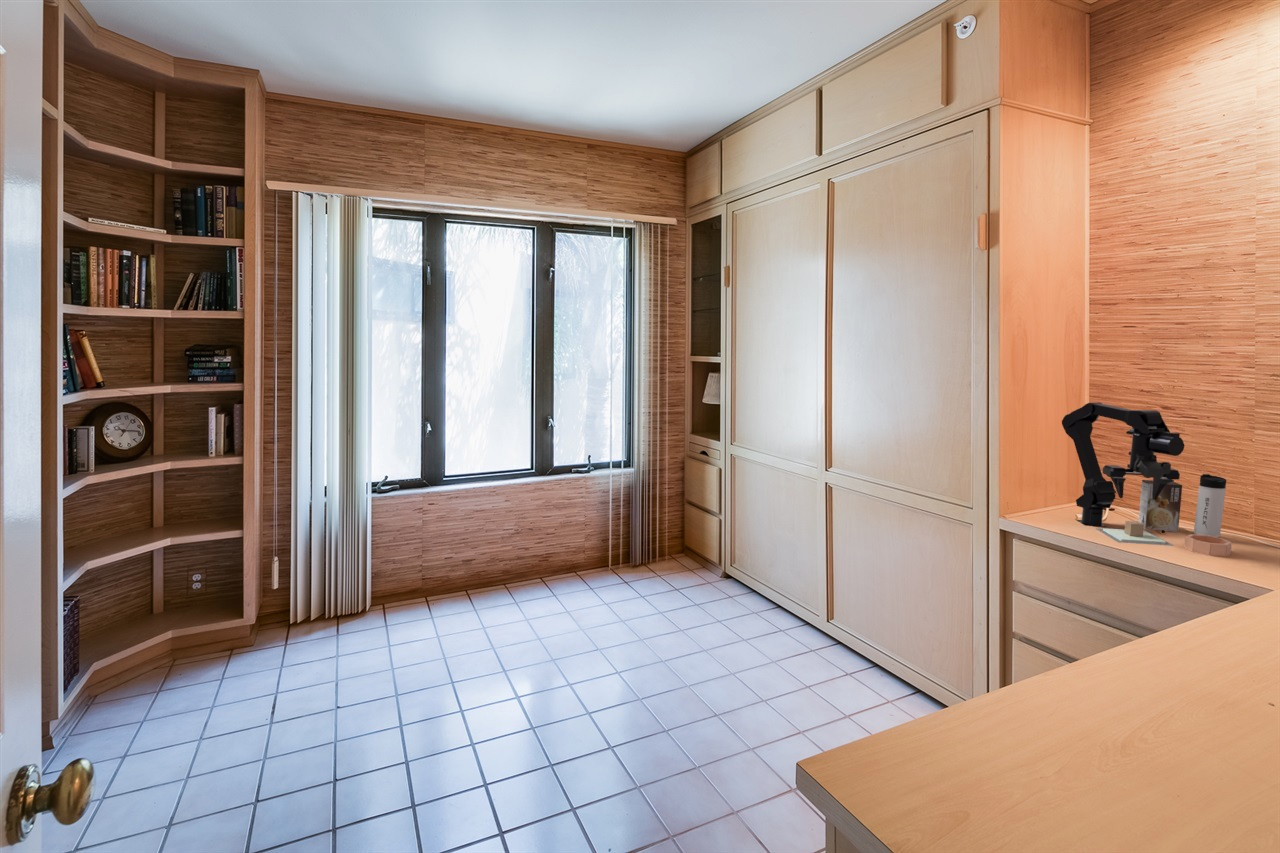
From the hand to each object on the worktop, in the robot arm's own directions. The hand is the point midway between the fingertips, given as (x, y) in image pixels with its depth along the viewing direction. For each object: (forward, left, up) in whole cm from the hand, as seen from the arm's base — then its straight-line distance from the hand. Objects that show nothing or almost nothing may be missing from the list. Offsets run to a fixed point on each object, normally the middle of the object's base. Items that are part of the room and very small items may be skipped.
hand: (1137, 498), depth 200 cm
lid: (0, 0, -12) cm, 12 cm away
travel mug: (-6, +23, -13) cm, 27 cm away
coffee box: (-13, +13, -13) cm, 23 cm away
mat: (0, 0, -13) cm, 13 cm away
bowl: (+11, +14, -13) cm, 22 cm away
